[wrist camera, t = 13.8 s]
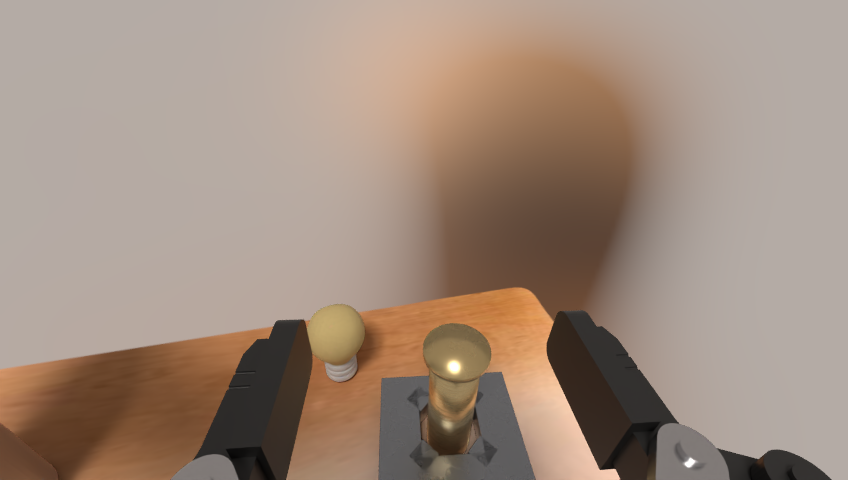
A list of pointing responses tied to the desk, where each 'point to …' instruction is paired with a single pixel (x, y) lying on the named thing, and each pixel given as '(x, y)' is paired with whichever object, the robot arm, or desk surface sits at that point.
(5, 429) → the robot arm
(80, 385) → the desk surface
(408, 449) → the jig
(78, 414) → the desk surface
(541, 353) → the desk surface
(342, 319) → the light bulb
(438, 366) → the rivet
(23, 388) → the desk surface
